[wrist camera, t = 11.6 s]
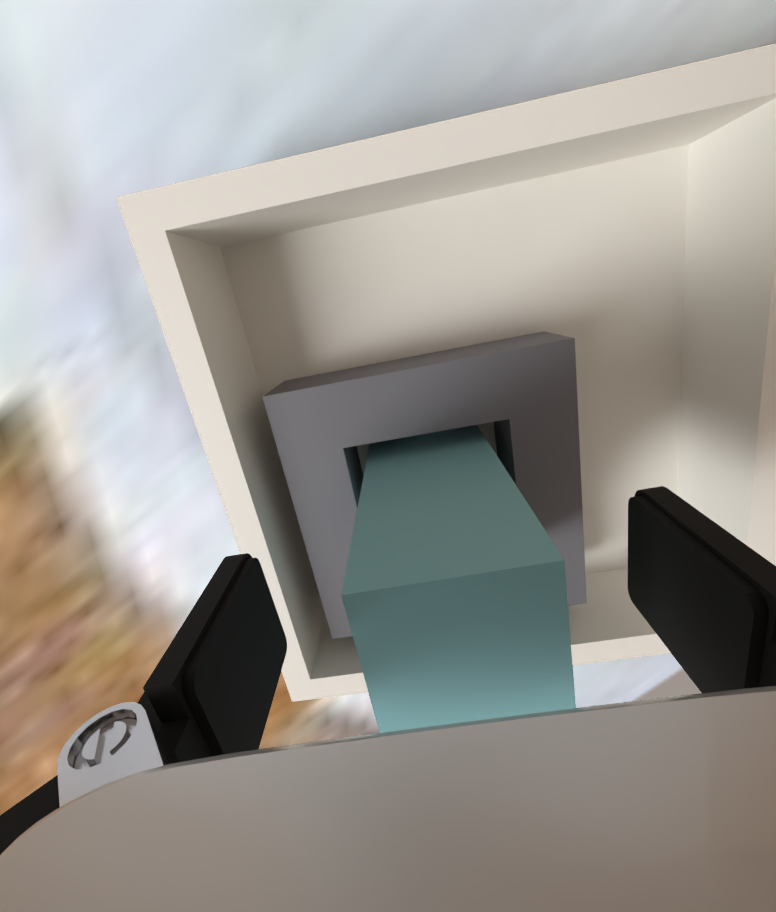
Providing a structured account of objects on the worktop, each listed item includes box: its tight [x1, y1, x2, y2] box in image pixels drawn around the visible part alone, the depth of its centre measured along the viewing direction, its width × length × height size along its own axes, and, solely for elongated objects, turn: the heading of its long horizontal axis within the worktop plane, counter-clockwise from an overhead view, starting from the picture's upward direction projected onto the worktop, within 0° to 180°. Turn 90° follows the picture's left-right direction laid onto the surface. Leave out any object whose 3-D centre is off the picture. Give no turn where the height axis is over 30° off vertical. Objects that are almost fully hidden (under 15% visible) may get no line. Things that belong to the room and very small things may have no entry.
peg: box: [341, 425, 576, 733], centre depth 14 cm, size 4×4×10 cm
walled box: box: [116, 43, 776, 702], centre depth 16 cm, size 18×18×4 cm
